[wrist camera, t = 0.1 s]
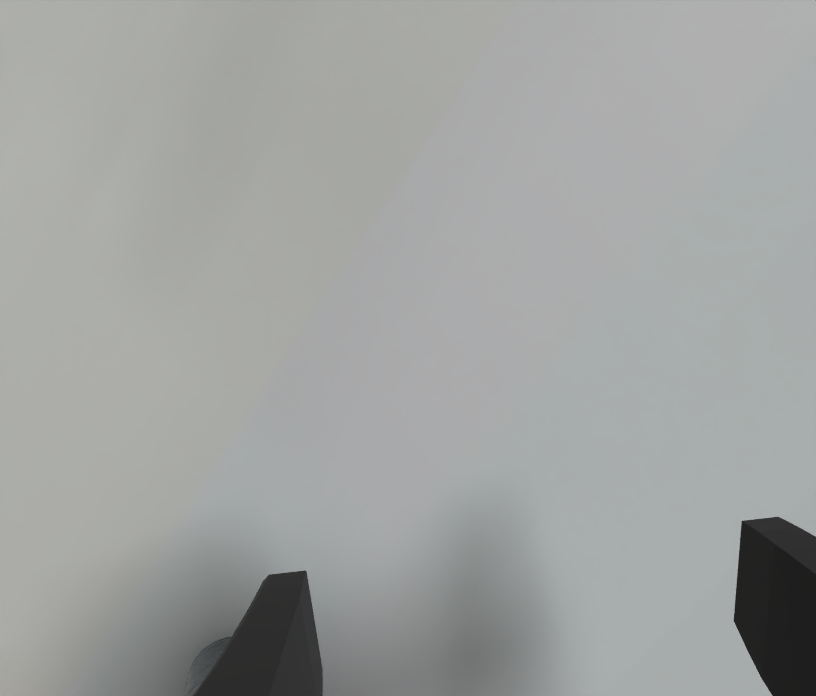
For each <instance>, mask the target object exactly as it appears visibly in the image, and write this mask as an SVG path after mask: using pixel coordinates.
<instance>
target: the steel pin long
mask: <svg viewBox="0 0 816 696" xmlns="http://www.w3.org/2000/svg"><path fill="white" fill-rule="evenodd" d="M231 638H232V637H228V638H225V639H221V640H219V641H217V642H214V643H213V644H211V645H209V646H208V647H206V648H205V649H204V650H203V651H202V652H201V653H200V654H199V655H198V656H197V657H196V659H195V660H194V662H193V664H192V667H191V670H190V674H189V678H188V682H187V685H186V689H185V693H184V696H193V695H194V693H195V692H196V690H197V689H198V688H199V686H200V685H201V683H202V682H203V681H204V679H205V678H206V676H207V675H208V673H209V672H210V670H211V669H212V667H213V666H214V664H215V663H216V661H217V660H218V658H219V656H220V655H221V653H222V652H223V650H224V649H225V647H226V645H227V644H228V642H229V641H230V639H231Z"/></svg>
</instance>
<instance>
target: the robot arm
mask: <svg viewBox="0 0 816 696" xmlns="http://www.w3.org/2000/svg"><path fill="white" fill-rule="evenodd" d="M734 622H735V624H736V626H737V629H738V631H739V633H740V635H741V637H742V639H743V642H744V644H745V646H746V648H747V650H748V652H749V654H750V656H751V658H752V660H753V662H754V664H755V666H756V668H757V670H758V672H759V674H760V676H761V678H762V680H763V681H764V683H765V684H766V686H767V687H768V689H769V691H770V692H771V694H772V695H773V696H816V537H815V536H813V535H811V534H810V533H808V532H806V531H804V530H803V529H801V528H799V527H797V526H795V525H793V524H791V523H789V522H788V521H786V520H784V519H782V518H779V517H773V518H764V519H755V520H747V521H742V526H741V538H740V551H739V563H738V576H737V588H736V600H735V613H734ZM193 696H322V664H321V658H320V652H319V645H318V639H317V633H316V627H315V621H314V615H313V609H312V603H311V597H310V591H309V585H308V578H307V572H306V571H298V572H289V573H281V574H272V575H268V576H267V578H266V579H265V580H264V581H263V582H262V584H261V586H260V588H259V590H258V592H257V594H256V596H255V598H254V599H253V601H252V603H251V605H250V607H249V609H248V610H247V612H246V614H245V616H244V617H243V619H242V621H241V622H240V624H239V626H238V628H237V629H236V631H235V633H234V634H233V636H232V638H231V639H230V641H229V642H228V644H227V645H226V647H225V649H224V650H223V652H222V653H221V655H220V656H219V658H218V660H217V661H216V663H215V664H214V666H213V667H212V669H211V670H210V672H209V673H208V675H207V676H206V678H205V679H204V681H203V682H202V683H201V685H200V686H199V688H198V689H197V690H196V692H195V693H194V695H193Z"/></svg>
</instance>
